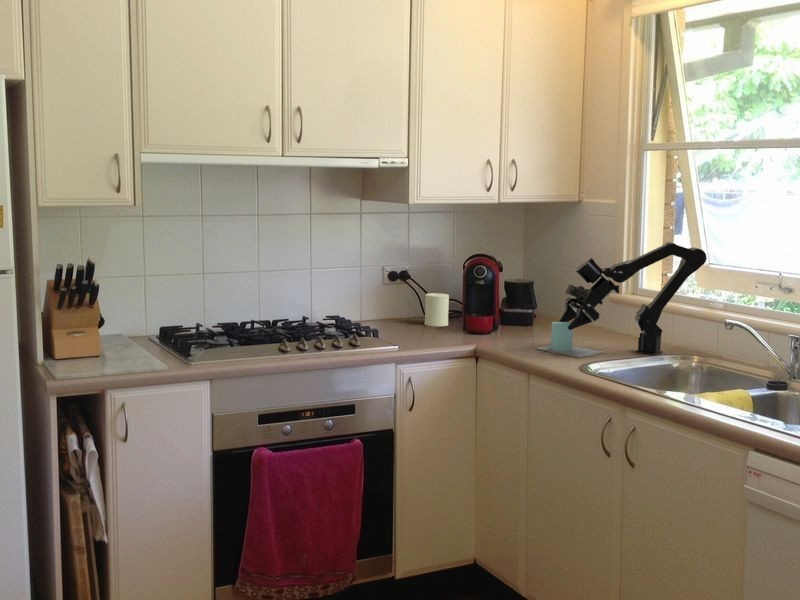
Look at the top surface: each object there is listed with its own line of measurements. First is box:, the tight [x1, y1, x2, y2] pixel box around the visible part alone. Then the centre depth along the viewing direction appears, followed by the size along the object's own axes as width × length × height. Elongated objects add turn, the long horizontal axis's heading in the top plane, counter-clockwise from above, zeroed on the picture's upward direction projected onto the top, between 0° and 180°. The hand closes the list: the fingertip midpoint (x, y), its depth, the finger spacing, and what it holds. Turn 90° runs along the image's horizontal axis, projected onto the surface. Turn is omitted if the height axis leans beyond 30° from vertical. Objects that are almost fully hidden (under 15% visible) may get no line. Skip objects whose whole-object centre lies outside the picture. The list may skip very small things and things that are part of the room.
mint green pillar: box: [550, 321, 574, 351], centre depth 301 cm, size 4×6×9 cm, turn 100°
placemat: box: [535, 344, 604, 359], centre depth 301 cm, size 18×13×1 cm
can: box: [424, 292, 450, 327], centre depth 348 cm, size 9×9×12 cm
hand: (563, 326), depth 300 cm, fingers open, 9 cm apart
